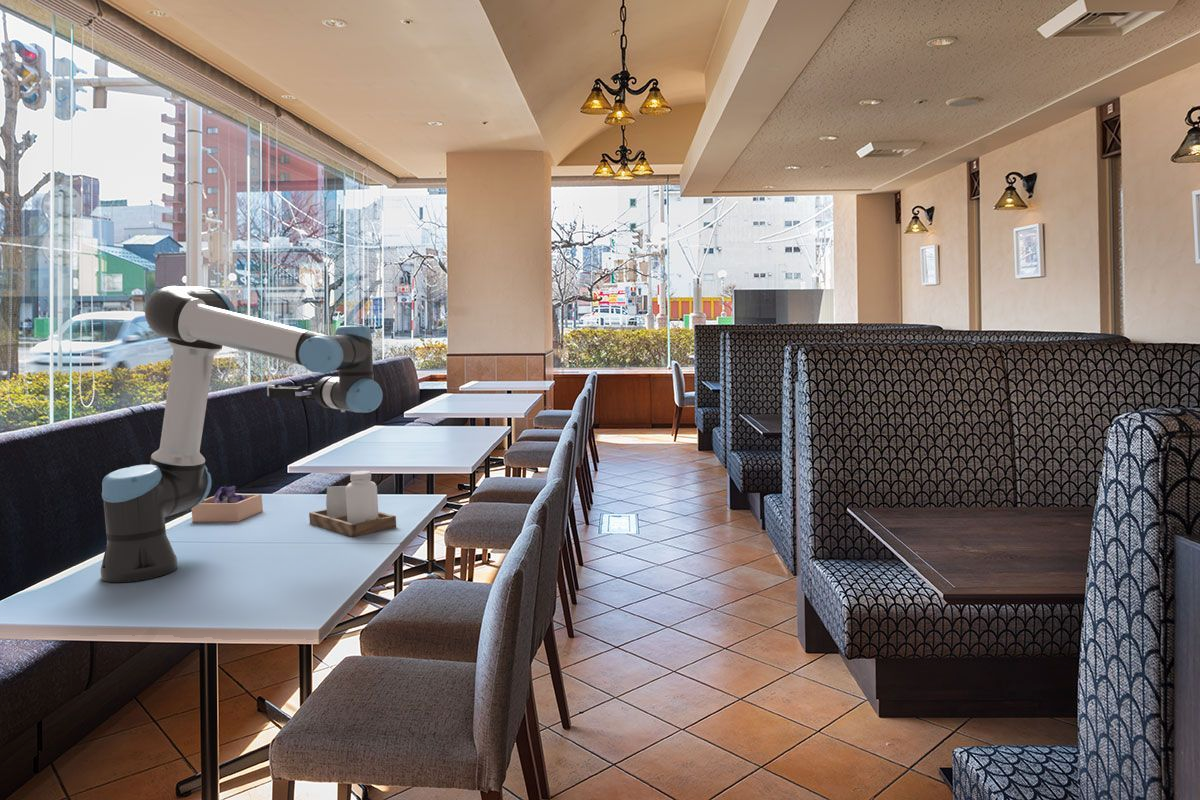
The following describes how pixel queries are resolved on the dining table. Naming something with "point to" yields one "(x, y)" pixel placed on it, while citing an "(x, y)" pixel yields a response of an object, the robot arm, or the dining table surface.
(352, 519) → the pill bottle
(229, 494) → the flower
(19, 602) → the dining table surface
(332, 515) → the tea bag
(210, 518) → the flower planter
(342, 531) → the slot rack
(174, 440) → the robot arm
